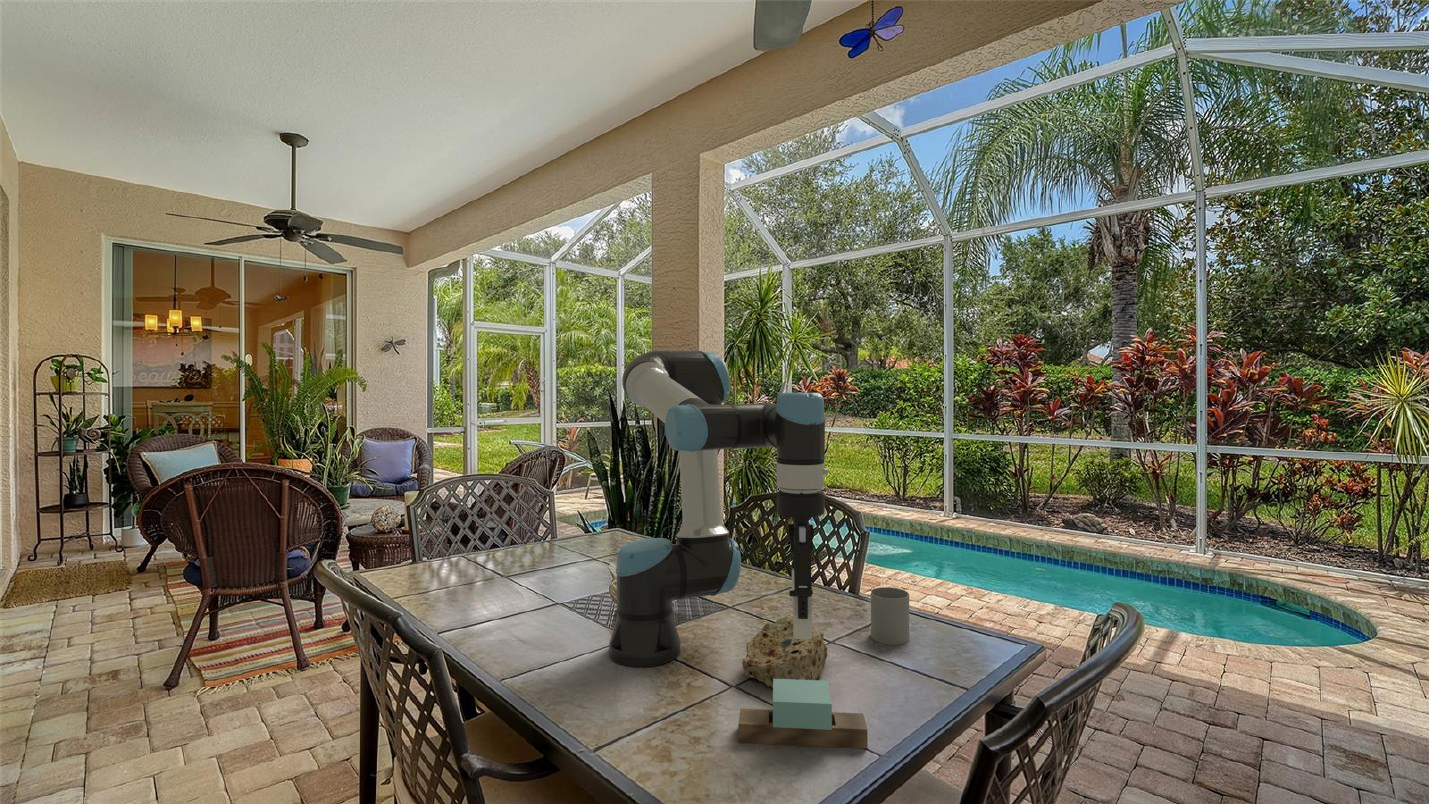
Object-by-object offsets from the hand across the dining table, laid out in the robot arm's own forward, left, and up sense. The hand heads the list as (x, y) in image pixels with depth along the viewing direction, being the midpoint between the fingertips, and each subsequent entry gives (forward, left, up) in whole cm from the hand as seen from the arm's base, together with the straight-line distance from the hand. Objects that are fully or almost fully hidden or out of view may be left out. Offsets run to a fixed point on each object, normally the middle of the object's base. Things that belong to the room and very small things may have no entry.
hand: (801, 622), depth 104 cm
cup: (+21, +44, -19) cm, 52 cm away
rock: (-2, +25, -19) cm, 31 cm away
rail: (0, 0, -19) cm, 19 cm away
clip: (0, 0, -19) cm, 19 cm away
